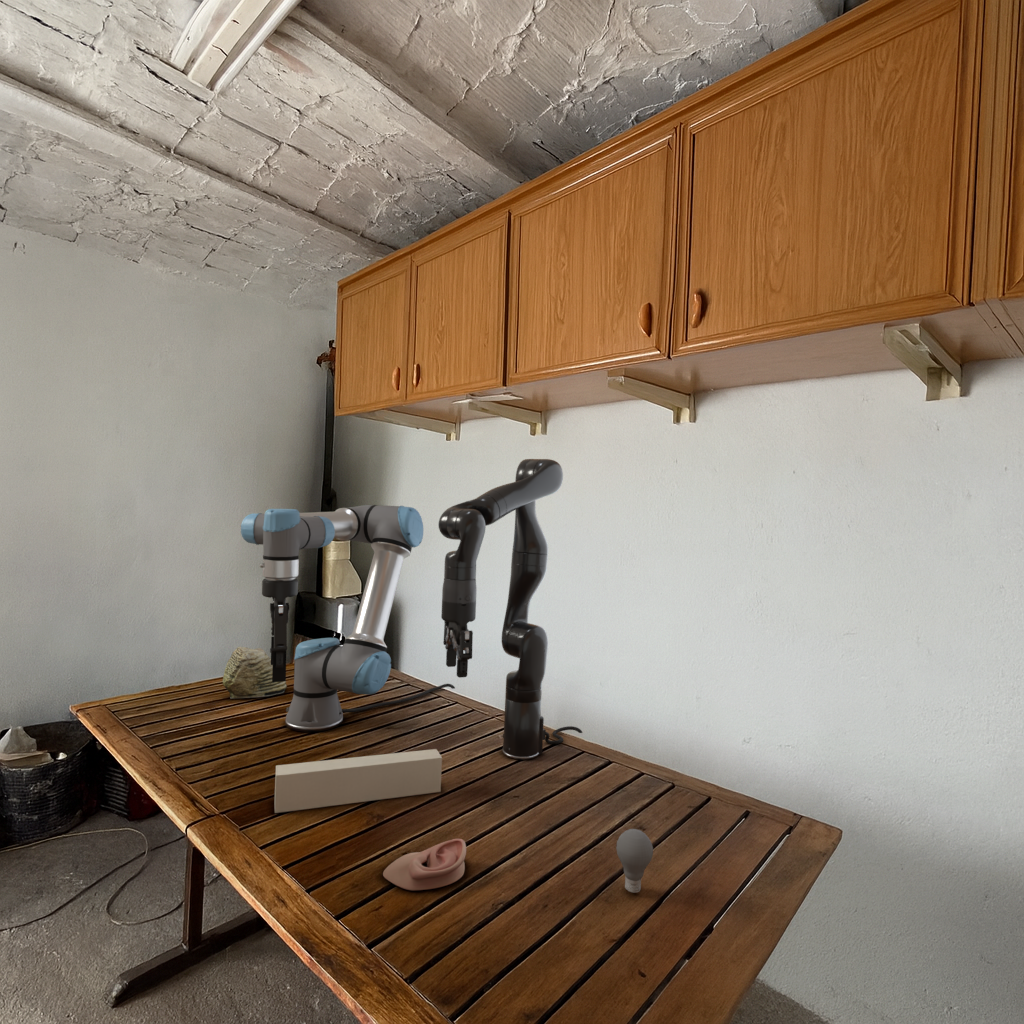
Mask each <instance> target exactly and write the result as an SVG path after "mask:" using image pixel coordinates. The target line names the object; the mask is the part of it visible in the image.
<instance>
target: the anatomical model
mask: <svg viewBox="0 0 1024 1024" xmlns="http://www.w3.org/2000/svg"><path fill="white" fill-rule="evenodd" d="M466 856H467V844H466V842H465V840H464V839H462V838H453V839H449V840H446V841H443V842H440V843H438V844H435V845H433V846H431V847H428V848H426V849H424V850H422V851H420V852H419V851H418V852H417V851H416V852H410V853H409V852H408V853H407V854H404V855H402V856H400V857H398V858H396V859H395V860H394V861H392V862H391V863H390V864H389V865H388V866H387V867H385V869H384V870H383V872H382V876H383V878H384V879H385V880H387V881H388V882H390V883H392V885H395V886H397V887H398V888H401V889H404V890H407V891H423V890H432V889H439V888H442V887H445V886H448V885H451V884H453V883H456V882H457V881H459V880H460V879H461V878H462V877H464V874H465V871H466V865H465V859H466Z"/></svg>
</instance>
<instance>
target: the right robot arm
mask: <svg viewBox="0 0 1024 1024" xmlns="http://www.w3.org/2000/svg"><path fill="white" fill-rule="evenodd" d="M514 480H515V481H513V482H509V483H505V484H502V485H499V486H497V487H494V488H492V489H490V490H487V491H485V492H484V493H483V494H480V495H479V496H477V497H476V498H473V499H470V500H466V501H463V502H460V503H457V504H453V505H452V506H450V507H448V508H447V509H445V510H444V511H443V512H442V514H441V515H440V517H439V520H438V530H439V532H440V534H441V535H442V536H443V537H444V538H446V539H449V540H454V541H459V544H458V547H457V549H456V550H452V551H448V552H447V553H446V554H445V556H444V569H443V576H444V577H443V583H442V592H441V593H442V594H441V616H440V617H441V620H442V621H444V626H443V627H444V628H443V641H442V643H443V645H444V648H445V650H446V657H445V658H446V659H445V665H446V666H447V668H453V667H454V668H455V667H456V677H457V678H466V677H468V668H469V667H468V666H469V660H472V659H473V639H474V638H473V637H474V636H473V635H474V632H473V630H469V629H468V624H469V623H472V622H474V621H475V620H476V614H477V612H476V611H477V560H478V557H479V554H480V551H481V549H482V548H481V547H482V544H483V541H484V536H485V534H486V527H487V526H490V525H493V524H495V523H496V522H497V521H499V520H500V519H501V520H502V518H504V517H506V516H507V515H509V514H510V513H512V512H514V511H515V513H514V514H515V515H514V516H515V517H514V530H513V531H514V532H513V543H512V552H511V563H510V577H509V588H508V594H507V595H508V596H507V603H506V609H505V615H504V620H503V625H502V630H501V646H502V649H503V652H504V653H505V654H506V655H509V656H510V657H513V658H516V659H519V662H518V668H517V670H512V671H509V672H508V673H507V674H506V677H505V695H504V698H505V699H504V718H503V719H504V720H503V733H502V739H503V741H502V754H503V755H504V756H506V757H508V758H510V759H514V760H521V761H525V760H531V759H535V758H537V757H538V756H539V755H543V747H544V746H543V743H544V742H545V743H546V744H549V745H559V744H562V743H563V742H564V738H563V736H561V735H559V733H561V732H564V731H575V732H578V733H579V734H583V731H582V730H581V728H579V727H578V726H572V725H571V726H570V725H569V726H568V725H567V726H563V727H559V728H557V729H555V730H554V731H552V736H553V737H554V738H555V739H556V740H550V738H551V737H550V736H551V735H550V733H549V732H547V730H546V729H545V728H544V723H545V722H544V721H545V718H544V716H543V715H542V691H543V682H544V678H545V676H546V671H547V660H548V653H549V652H548V650H549V638H548V634H547V631H546V629H545V628H544V627H542V626H540V625H538V624H533V623H530V622H529V613H530V612H529V611H530V606H531V602H532V600H533V597H535V596H534V595H535V594H536V592H537V591H538V589H539V588H540V586H541V584H542V583H543V581H544V580H545V577H546V574H547V569H548V559H549V543H548V541H547V538H546V535H545V533H544V531H543V529H542V527H541V524H540V522H539V520H538V516H537V510H536V509H537V507H536V505H537V503H536V501H537V500H539V499H542V498H545V497H548V496H551V495H553V494H555V493H557V492H558V491H559V490H560V489H561V487H562V484H563V481H564V471H563V468H562V466H561V464H560V463H559V462H558V461H556V460H554V459H550V458H525V459H523V460H521V461H520V462H519V464H518V466H517V467H516V472H515V478H514Z"/></svg>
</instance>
